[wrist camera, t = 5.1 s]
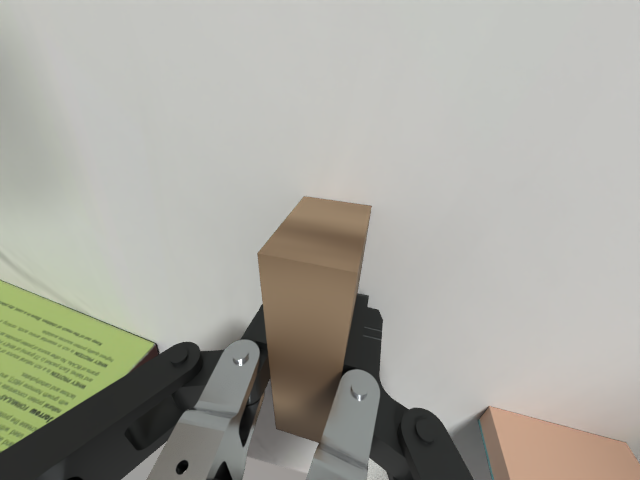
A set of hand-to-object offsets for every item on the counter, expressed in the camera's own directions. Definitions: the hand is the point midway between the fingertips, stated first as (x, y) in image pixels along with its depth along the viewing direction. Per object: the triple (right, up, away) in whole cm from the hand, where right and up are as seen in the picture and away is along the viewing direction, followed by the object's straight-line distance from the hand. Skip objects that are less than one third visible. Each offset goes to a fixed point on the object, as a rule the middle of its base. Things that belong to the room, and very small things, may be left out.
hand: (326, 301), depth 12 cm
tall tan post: (0, -2, +2) cm, 3 cm away
